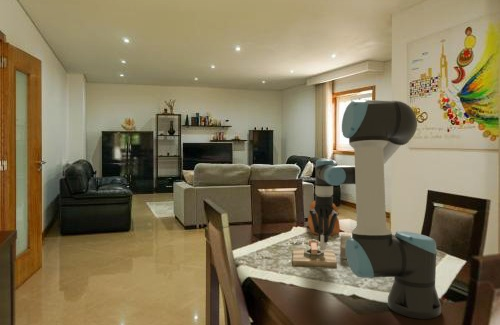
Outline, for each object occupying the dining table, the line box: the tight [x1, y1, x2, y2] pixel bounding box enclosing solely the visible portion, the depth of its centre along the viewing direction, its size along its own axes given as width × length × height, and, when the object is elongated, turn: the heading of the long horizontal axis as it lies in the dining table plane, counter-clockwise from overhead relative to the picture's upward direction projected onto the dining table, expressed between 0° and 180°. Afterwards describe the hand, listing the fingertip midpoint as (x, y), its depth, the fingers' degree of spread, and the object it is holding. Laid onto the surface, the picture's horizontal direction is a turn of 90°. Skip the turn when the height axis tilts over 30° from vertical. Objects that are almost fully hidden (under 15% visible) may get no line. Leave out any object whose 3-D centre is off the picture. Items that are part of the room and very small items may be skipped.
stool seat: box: [292, 248, 338, 268], centre depth 166 cm, size 18×18×4 cm
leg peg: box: [339, 233, 352, 260], centre depth 169 cm, size 4×4×10 cm
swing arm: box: [308, 238, 319, 254], centre depth 168 cm, size 16×4×3 cm, turn 172°
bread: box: [307, 200, 341, 236], centre depth 221 cm, size 16×26×17 cm, turn 179°
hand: (323, 249), depth 165 cm, fingers closed
